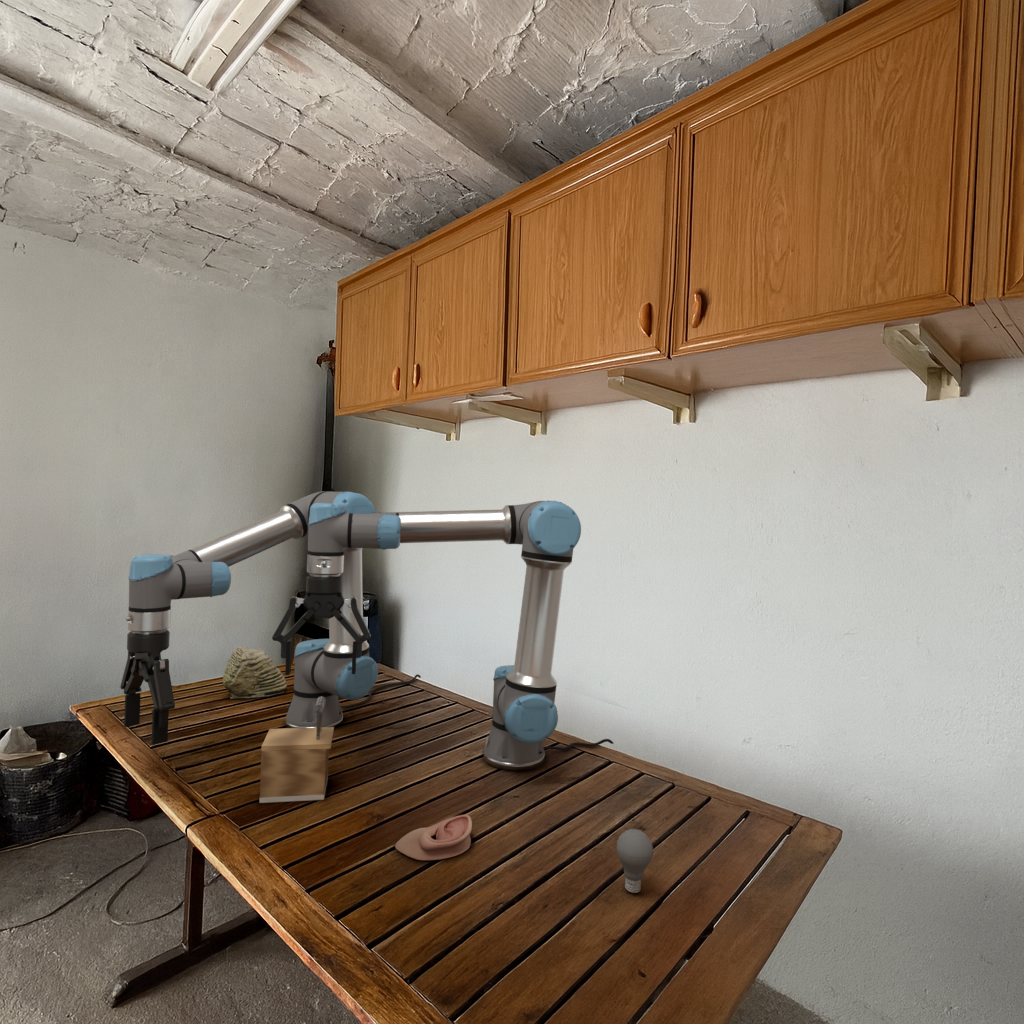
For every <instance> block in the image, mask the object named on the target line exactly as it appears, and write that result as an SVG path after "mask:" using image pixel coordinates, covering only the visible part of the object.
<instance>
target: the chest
mask: <svg viewBox="0 0 1024 1024" xmlns="http://www.w3.org/2000/svg"><path fill="white" fill-rule="evenodd" d="M329 755H330V749H310V750H281V751H260V776H259V777H260V778H259V779H260V780H259V798H258V799H259V801H258V802H259V804H266V803H267V804H268V803H286V802H306V801H307V802H308V801H324V800H325V798H326V797H325V796H326V792H327V786H328V780H329V759H330V758H329V757H330V756H329Z"/></svg>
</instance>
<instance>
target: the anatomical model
mask: <svg viewBox="0 0 1024 1024" xmlns="http://www.w3.org/2000/svg"><path fill="white" fill-rule="evenodd" d="M472 830H473V821H472V818H471V816H470V815H469V814H459V815H456V816H452V817H450V818H447V819H444V820H442V821H440V822H437V823H436V824H435V823H434V824H433V825H431V826H429V827H420V828H417V829H413V830H412V831H409V832H408V833H406V834H405V835H403V836H402V837H401V838H400V839H399V840H397V842H396V843H395V845H394V848H395V849H396V851H398V852H400V853H401V854H403V855H405V856H406V857H408V858H412V859H414V860H417V861H436V860H437V861H438V860H444V859H450V858H453V857H456V856H459V855H462V854H463V853H464V852H467V851H468V850H469V848H470V847H471V844H472V839H471V833H472Z"/></svg>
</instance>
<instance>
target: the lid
mask: <svg viewBox="0 0 1024 1024" xmlns="http://www.w3.org/2000/svg"><path fill="white" fill-rule="evenodd" d="M325 703H326V699H325V697H323V696H321V697H318V698H317V701H316V704H315V707H314V711H315V712H316V713H317V728H288V727H286V728H269V729H268V732H267V734H266V736H265V738H264V741H263V742H262V745H261V749H260V750H261V751H281V750H310V749H329V750H331V748H332V744H333V743H332V742H333V738H334V733H335V728H334V727H322V712H323V710H324V707H325ZM261 751H260V752H261Z"/></svg>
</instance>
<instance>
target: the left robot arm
mask: <svg viewBox="0 0 1024 1024" xmlns="http://www.w3.org/2000/svg"><path fill="white" fill-rule="evenodd" d="M314 503H332V504H344V505H345V507H346V513H353V514H370V513H372V512H377V511H376V509H375V506H374V504H373V503H372V501H371V500H369V498H368V497H367V496H365V495H364V494H362V493H358V492H353V491H329V490H322V491H317V492H314V493H310V494H309V495H306V496H303V497H301V498H298V499H296V500H294V501H292V502H289V503H287V504H285V505H282V506H281V507H280V508H279V511H278V512H276V513H273V514H270V515H268V516H266V517H264V518H261V519H259V520H257V521H254V522H251V523H250V524H247V525H245V526H242V527H240V528H237V529H236V530H233V531H231V532H228V533H225V534H223V535H220V536H219V537H217V538H214V539H211V540H209V541H207V542H204V543H202V544H199V545H197V546H195V547H192V548H191V549H188V550H186V551H183V552H180V553H178V554H176V555H172V554H171V555H168V554H161V553H160V554H154V553H153V554H150V553H149V554H138V555H135V556H133V557H132V558H131V560H130V566H129V574H128V612H127V613H128V616H126V617H125V621H126V622H127V630H128V631H129V632H128V633H127V635H126V638H127V639H126V650H127V659H126V663H125V667H124V670H123V675H122V679H121V683H120V685H119V686H120V690H123V695H124V715H123V716H124V719H123V727H125V728H128V727H133V726H137V725H140V722H141V721H140V719H141V696H142V695H141V692H142V691H143V690H142V685H143V682H145V683H147V685H148V688H149V692H150V696H151V699H152V703H153V706H154V708H153V709H152V710H151V711H150V712H151V714H152V718H151V719H152V720H151V722H152V723H151V746H156V745H158V744H162V743H167V742H168V741H169V716H170V715H169V711H170V710H173V709H175V707H176V703H175V698H174V697H175V696H174V691H173V685H172V680H171V673H170V660H169V658H162V655H161V653H162V652H163V651H165V650H167V649H169V647H170V638H171V637H170V636H171V632H170V631H169V630H168V629H170V627H171V618H172V617H171V615H172V600H173V601H174V600H182V599H198V598H209V597H210V598H213V597H217V596H223V595H225V594H227V592H228V591H229V590H230V587H231V583H232V574H231V569H230V567H231V566H234V565H236V564H238V563H240V562H243V561H244V560H247V559H249V558H252V557H254V556H255V555H258V554H260V553H262V552H264V551H267V550H269V549H271V548H273V547H275V546H277V545H280V544H283V543H284V542H286V541H288V540H291V539H294V540H300V539H302V538H304V537H308V523H309V515H310V507H311V506H312V505H313V504H314ZM363 549H364V548H344V565H343V573H342V574H340V575H341V576H342V577H343V590H342V595H343V598H344V599H345V598H352V597H356V598H357V607H358V609H359V611H360V613H361V615H362V617H363V618H364V608H363V607H364V606H363V605H364V604H363V602H364V601H363V599H364V598H363ZM340 611H341V612H342V613H343V614H344V616H345V617H346V618H347V620H348V621H349V622H350V623H351V624H352V626H353V627H354V628H355V629H356V630H357V632H358V633H359V634H360V635H363V633H362V631H361V629H360V627H359V625H358V623H357V621H356V619H355V616H354V614H353V612H352V609H351V608H348V606H347V604H344V605H343V606H342V607H341V609H340ZM328 628H329V631H328V633H329V635H328V637H329V638H318V639H308V640H304V641H300V642H299V643H297V644H296V646H295V650H294V655H293V657H294V672H293V673H294V674H293V695H292V696H293V697H292V699H291V702H290V703H289V704H288V706H287V708H286V709H287V710H288V711H287V713H286V715H285V726H286V728H317V713H316V712H315V711H314V707H315V704H316V701H317V698H318V697H321V696H323V697H325V699H326V703H325V707H324V710H323V712H322V727H334V729H335V728H337V727H339V726H340V725H342V723H343V722H344V714H343V709H349V708H353V707H357V706H360V705H363V704H365V703H367V702H370V700H371V698H372V694H373V693H374V692H376V691H378V690H381V689H383V688H386V687H391V686H399V685H400V686H401V685H407V684H410V683H413V682H414V681H415V680H416V679H417V678H419V679H420V678H422V676H421V675H420V674H415V675H414V677H413V678H411V679H410V680H407V681H401V682H392V683H385V684H383V685H380V686H377V687H375V688H374V686H375V685H376V683H377V679H378V676H379V666H378V664H377V662H376V661H375V660H374V659H373V658H372V657H371V656H370V644H369V643H368V642H367V641H364V642H363V643H362V656H361V658H356V672H355V674H352V653H353V641H355V640H354V639H353V637H352V636H351V635H350V634H349V633H348V631H347V630H346V629H345V628H344V627H343V625H342V624H341V623H340V622H339V621H338V620H337V619H336V618H335V616H334V617H332V618H331V619H328ZM373 688H374V689H373ZM367 695H368V698H366V699H364V700H362V701H359V702H356V703H352V704H347V705H341V702H340V699H342V700H347V701H357V700H360V699H362V698H364V697H365V696H367Z"/></svg>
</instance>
